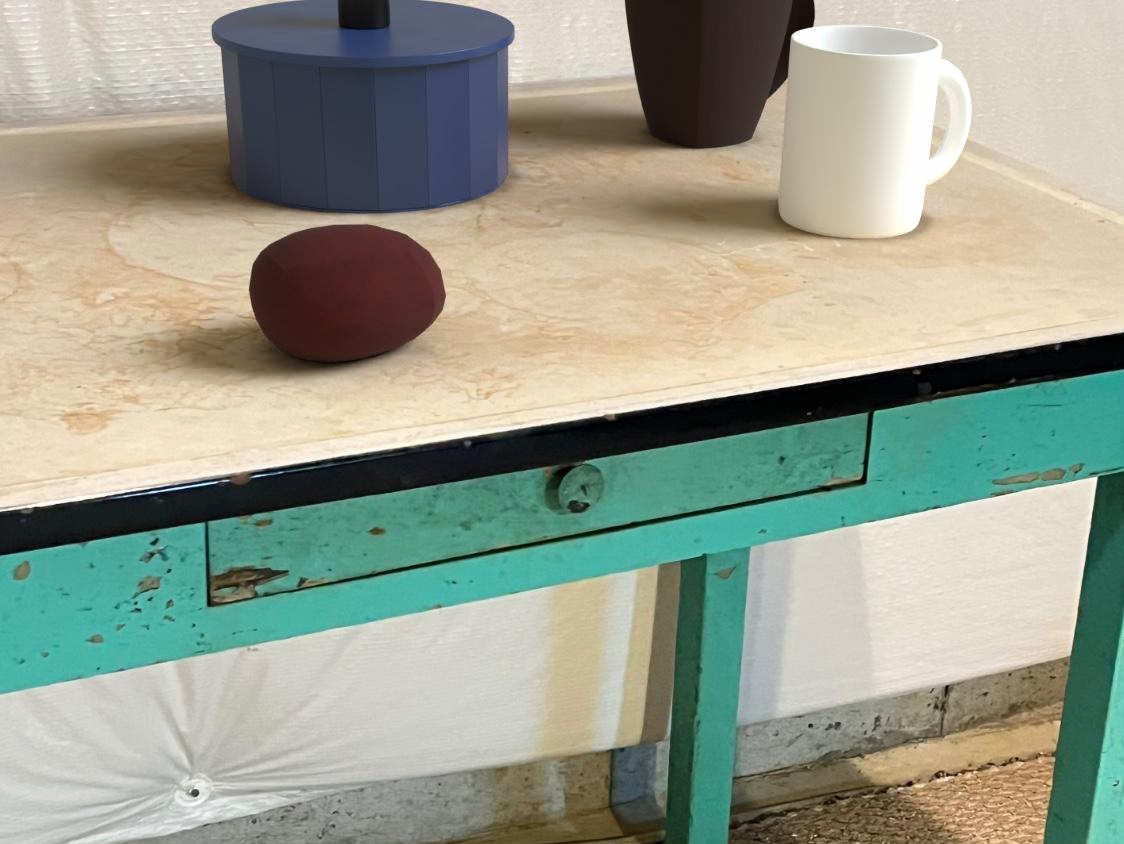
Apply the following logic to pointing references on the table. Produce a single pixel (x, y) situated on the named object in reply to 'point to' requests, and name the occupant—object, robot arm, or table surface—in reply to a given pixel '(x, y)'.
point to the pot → (367, 133)
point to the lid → (363, 33)
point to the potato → (345, 291)
